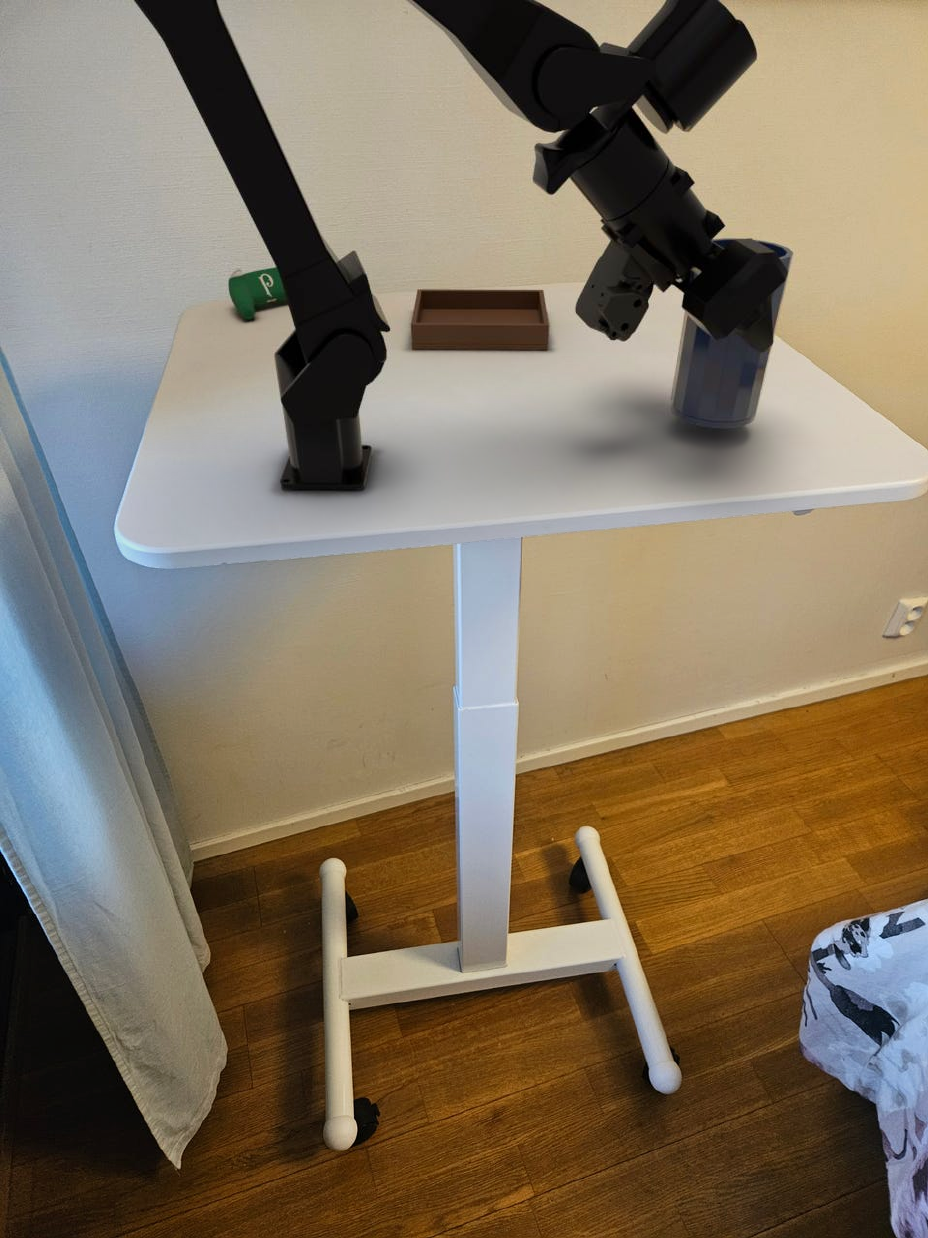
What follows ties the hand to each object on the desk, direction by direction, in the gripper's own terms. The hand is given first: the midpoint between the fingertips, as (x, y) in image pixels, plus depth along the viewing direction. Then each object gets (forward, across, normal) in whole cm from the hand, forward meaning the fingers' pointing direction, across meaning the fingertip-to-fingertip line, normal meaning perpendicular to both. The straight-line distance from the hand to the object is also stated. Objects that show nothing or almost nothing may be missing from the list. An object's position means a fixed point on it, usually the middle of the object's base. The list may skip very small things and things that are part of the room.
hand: (744, 330), depth 68 cm
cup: (+4, 0, -6) cm, 7 cm away
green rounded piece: (-20, -40, -32) cm, 55 cm away
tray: (-5, -27, -17) cm, 32 cm away
